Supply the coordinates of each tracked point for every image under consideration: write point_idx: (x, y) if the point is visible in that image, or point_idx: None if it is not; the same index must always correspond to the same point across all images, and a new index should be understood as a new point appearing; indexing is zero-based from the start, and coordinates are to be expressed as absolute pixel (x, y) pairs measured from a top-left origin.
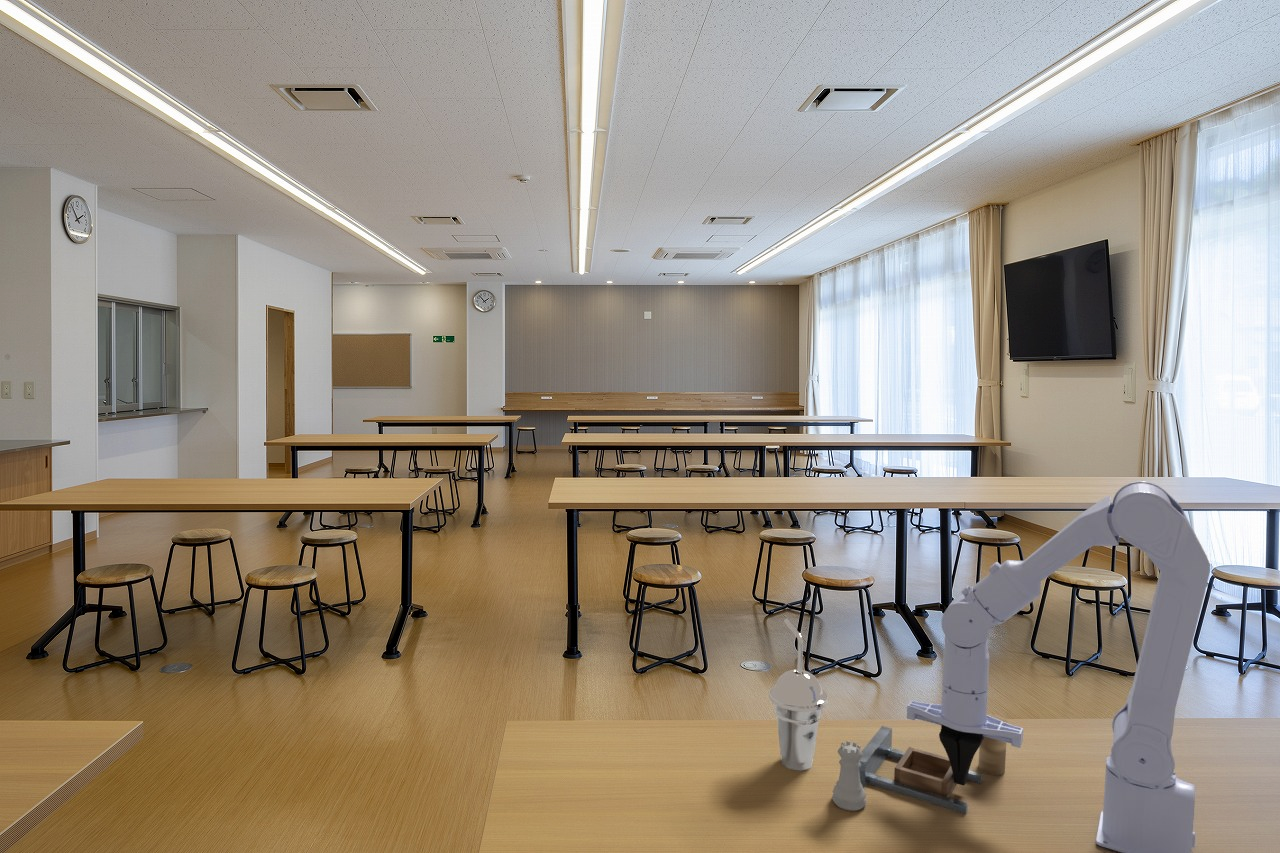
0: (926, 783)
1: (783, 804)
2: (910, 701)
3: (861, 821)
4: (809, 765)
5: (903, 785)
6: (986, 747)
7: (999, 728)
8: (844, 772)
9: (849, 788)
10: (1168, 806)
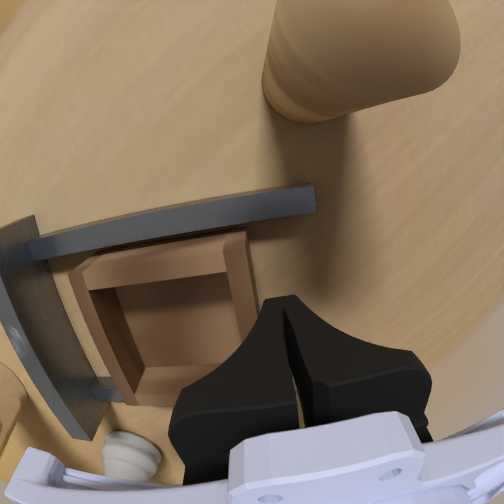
0: None
1: (92, 468)
2: (12, 500)
3: (181, 468)
4: (22, 392)
5: None
6: (323, 113)
7: (501, 488)
8: None
9: None
10: None
